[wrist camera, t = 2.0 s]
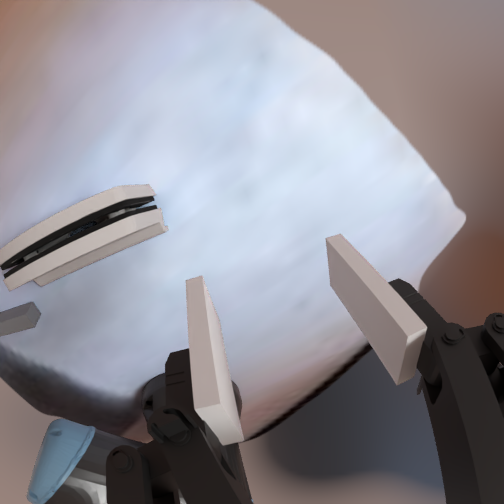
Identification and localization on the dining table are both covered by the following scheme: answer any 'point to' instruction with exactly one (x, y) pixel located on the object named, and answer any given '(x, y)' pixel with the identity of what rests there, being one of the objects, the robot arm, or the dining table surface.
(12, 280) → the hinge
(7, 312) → the bracket
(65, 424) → the robot arm
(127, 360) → the dining table surface
